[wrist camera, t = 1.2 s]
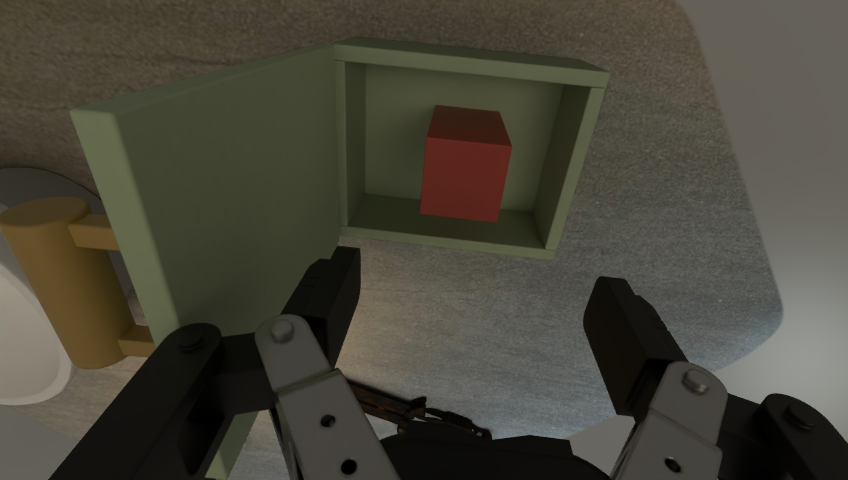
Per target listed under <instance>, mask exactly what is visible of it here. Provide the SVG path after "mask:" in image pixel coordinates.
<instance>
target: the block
mask: <svg viewBox="0 0 848 480" xmlns="http://www.w3.org/2000/svg"><path fill="white" fill-rule="evenodd" d="M511 151H512V144H511V141H510V139H509V136H508V133H507V131H506V128H505V125H504V122H503V120H502V117H501V114H500V112H499V111H490V110H480V109H471V108H462V107H452V106H443V105H435V109H434V112H433V116H432V119H431V123H430V126H429V129H428V133H427V136H426V145H425V156H424V167H423V179H422V190H421V201H420V214H428V215H436V216H445V217H454V218H462V219H471V220H480V221H488V222H497V220H498V215H499V210H500V205H501V200H502V196H503V191H504V186H505V181H506V176H507V171H508V166H509V161H510V156H511Z"/></svg>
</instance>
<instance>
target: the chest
mask: <svg viewBox="0 0 848 480" xmlns="http://www.w3.org/2000/svg"><path fill="white" fill-rule="evenodd" d="M330 45H333V46H334V64H335V98H336V132H337V166H338V200H339V234H340V236H349V237H357V238H366V239H374V240H383V241H391V242H400V243H408V244H417V245H425V246H434V247H442V248H451V249H459V250H468V251H476V252H485V253H493V254H502V255H510V256H519V257H527V258H536V259H545V260H554V258H555V254H556V250H557V248H558V245H559V242H560V238H561V235H562V232H563V228H564V225H565V222H566V219H567V215H568V212H569V209H570V206H571V202H572V199H573V196H574V193H575V189H576V186H577V183H578V179H579V176H580V173H581V170H582V166H583V163H584V160H585V157H586V153H587V150H588V147H589V143H590V140H591V137H592V134H593V130H594V127H595V124H596V121H597V117H598V114H599V111H600V107H601V104H602V101H603V98H604V94H605V91H606V89H605V88H606V87H607V84H608V81H609V78H610V75H611V73H610V72H609V71H606V70H604V69H601V68H599V67H596V66H594V65H591V64H589V63H587V62H584V61H582V60H579V59H571V58H561V57H551V56H541V55H531V54H522V53H512V52H502V51H492V50H482V49H472V48H463V47H453V46H443V45H433V44H423V43H413V42H404V41H394V40H384V39H374V38H364V37H356V38H352V39H348V40H343V41H339V42H335V43H331V44H330ZM435 105H443V106H452V107H462V108H471V109H480V110H490V111H499V112H500V114H501V117H502V120H503V122H504V125H505V128H506V131H507V133H508V136H509V139H510V141H511V144H512V151H511V156H510V161H509V166H508V171H507V176H506V181H505V186H504V191H503V196H502V200H501V205H500V210H499V215H498V220H497V222H488V221H480V220H471V219H462V218H454V217H445V216H436V215H428V214H420V201H421V190H422V179H423V167H424V156H425V145H426V136H427V133H428V129H429V126H430V123H431V119H432V116H433V112H434V109H435Z"/></svg>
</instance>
